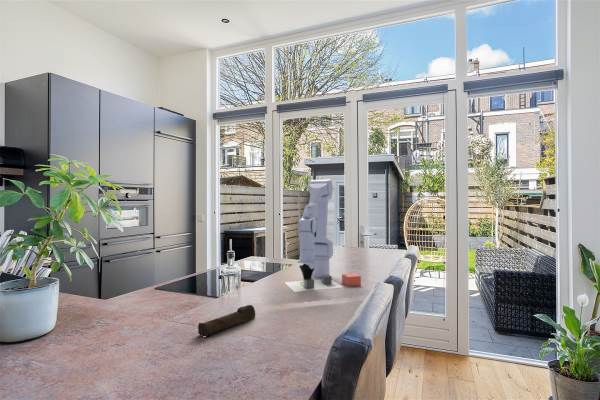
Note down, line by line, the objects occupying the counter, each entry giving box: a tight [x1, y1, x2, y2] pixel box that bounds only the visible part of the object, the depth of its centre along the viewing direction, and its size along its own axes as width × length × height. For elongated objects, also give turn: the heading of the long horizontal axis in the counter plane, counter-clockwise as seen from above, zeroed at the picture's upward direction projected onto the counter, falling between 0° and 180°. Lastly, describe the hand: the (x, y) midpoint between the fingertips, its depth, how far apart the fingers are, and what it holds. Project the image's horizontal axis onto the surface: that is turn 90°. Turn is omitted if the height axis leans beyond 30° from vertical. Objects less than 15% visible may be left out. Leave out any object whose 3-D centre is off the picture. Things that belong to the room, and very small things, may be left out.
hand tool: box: [197, 304, 256, 338], centre depth 98 cm, size 19×4×5 cm, turn 138°
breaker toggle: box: [303, 277, 315, 289], centre depth 133 cm, size 3×3×3 cm
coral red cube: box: [341, 272, 362, 287], centre depth 139 cm, size 6×6×5 cm
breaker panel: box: [284, 275, 344, 293], centre depth 138 cm, size 15×20×4 cm
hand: (307, 283), depth 135 cm, fingers closed
